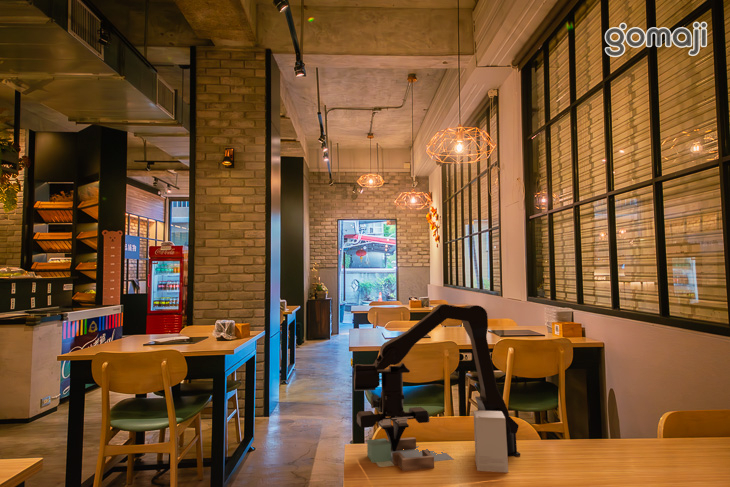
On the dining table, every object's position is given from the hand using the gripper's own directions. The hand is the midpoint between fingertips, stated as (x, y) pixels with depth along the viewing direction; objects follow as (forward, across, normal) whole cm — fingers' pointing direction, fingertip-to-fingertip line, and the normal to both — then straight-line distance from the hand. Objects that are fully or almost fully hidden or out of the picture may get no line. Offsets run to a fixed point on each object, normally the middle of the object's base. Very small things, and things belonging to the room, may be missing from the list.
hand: (393, 451), depth 113 cm
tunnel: (+2, -3, +2) cm, 4 cm away
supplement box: (+2, -21, +12) cm, 25 cm away
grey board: (+2, -4, 0) cm, 5 cm away
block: (+1, +4, 0) cm, 4 cm away
